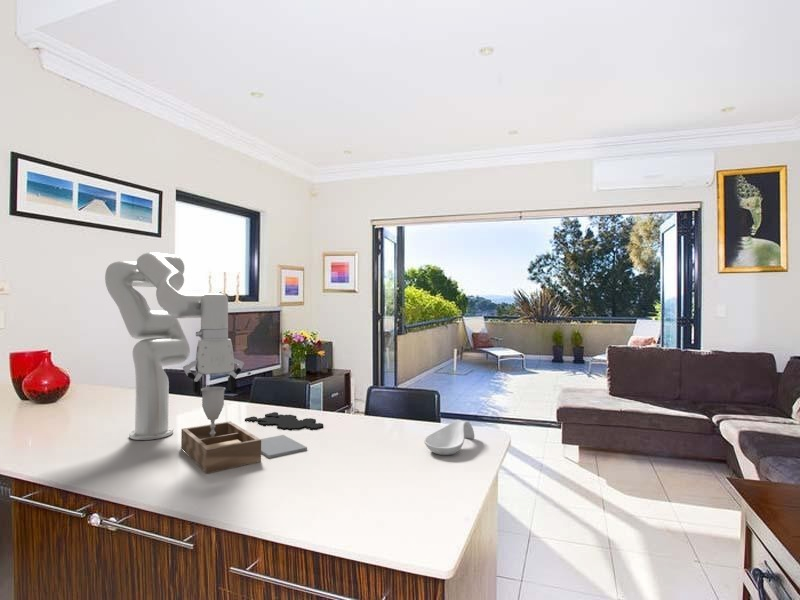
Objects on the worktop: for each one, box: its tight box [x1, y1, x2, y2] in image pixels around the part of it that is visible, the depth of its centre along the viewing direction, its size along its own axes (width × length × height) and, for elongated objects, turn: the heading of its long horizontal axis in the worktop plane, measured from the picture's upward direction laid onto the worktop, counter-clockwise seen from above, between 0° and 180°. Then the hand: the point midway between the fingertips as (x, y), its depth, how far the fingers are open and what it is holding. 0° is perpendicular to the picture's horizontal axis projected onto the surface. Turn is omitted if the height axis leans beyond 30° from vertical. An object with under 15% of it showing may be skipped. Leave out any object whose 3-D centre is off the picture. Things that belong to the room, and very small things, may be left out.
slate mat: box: [260, 434, 308, 459], centre depth 139 cm, size 16×12×1 cm
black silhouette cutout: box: [244, 411, 324, 431], centre depth 167 cm, size 16×1×30 cm
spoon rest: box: [423, 419, 475, 456], centre depth 141 cm, size 24×12×7 cm, turn 149°
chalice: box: [200, 386, 226, 437], centre depth 136 cm, size 7×7×18 cm
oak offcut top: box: [207, 439, 241, 448], centre depth 127 cm, size 8×9×2 cm
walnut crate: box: [180, 420, 262, 474], centre depth 131 cm, size 24×14×6 cm, turn 40°
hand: (214, 392), depth 136 cm, fingers open, 9 cm apart
